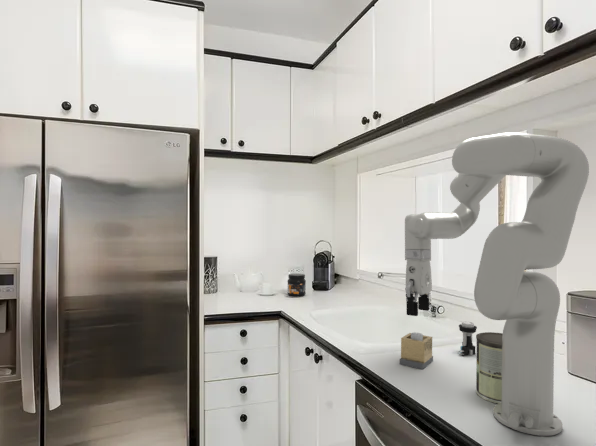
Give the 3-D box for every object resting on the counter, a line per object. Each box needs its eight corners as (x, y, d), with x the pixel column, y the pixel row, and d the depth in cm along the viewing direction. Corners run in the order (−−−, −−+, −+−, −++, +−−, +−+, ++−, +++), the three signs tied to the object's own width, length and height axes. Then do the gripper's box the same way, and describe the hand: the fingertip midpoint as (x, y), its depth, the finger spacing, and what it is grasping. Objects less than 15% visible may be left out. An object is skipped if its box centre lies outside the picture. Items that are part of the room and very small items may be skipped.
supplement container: (283, 295, 223) (284, 274, 223) (293, 293, 232) (293, 272, 232) (300, 297, 218) (300, 276, 218) (308, 294, 227) (309, 274, 227)
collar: (424, 363, 113) (424, 342, 113) (401, 358, 117) (401, 338, 117) (432, 356, 118) (432, 336, 118) (409, 352, 123) (409, 332, 123)
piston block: (422, 369, 112) (423, 339, 112) (399, 364, 116) (399, 335, 116) (433, 360, 119) (433, 332, 119) (410, 355, 123) (410, 328, 123)
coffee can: (468, 386, 100) (468, 331, 100) (507, 386, 101) (508, 332, 101) (488, 405, 90) (489, 344, 90) (532, 405, 90) (533, 344, 90)
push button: (466, 358, 121) (467, 326, 121) (452, 353, 126) (452, 322, 126) (480, 355, 125) (480, 323, 125) (465, 350, 129) (465, 320, 129)
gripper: (420, 257, 109) (420, 319, 108) (439, 254, 122) (439, 309, 122) (394, 256, 113) (394, 316, 113) (415, 253, 127) (416, 306, 126)
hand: (418, 312), depth 117 cm, fingers open, 9 cm apart
